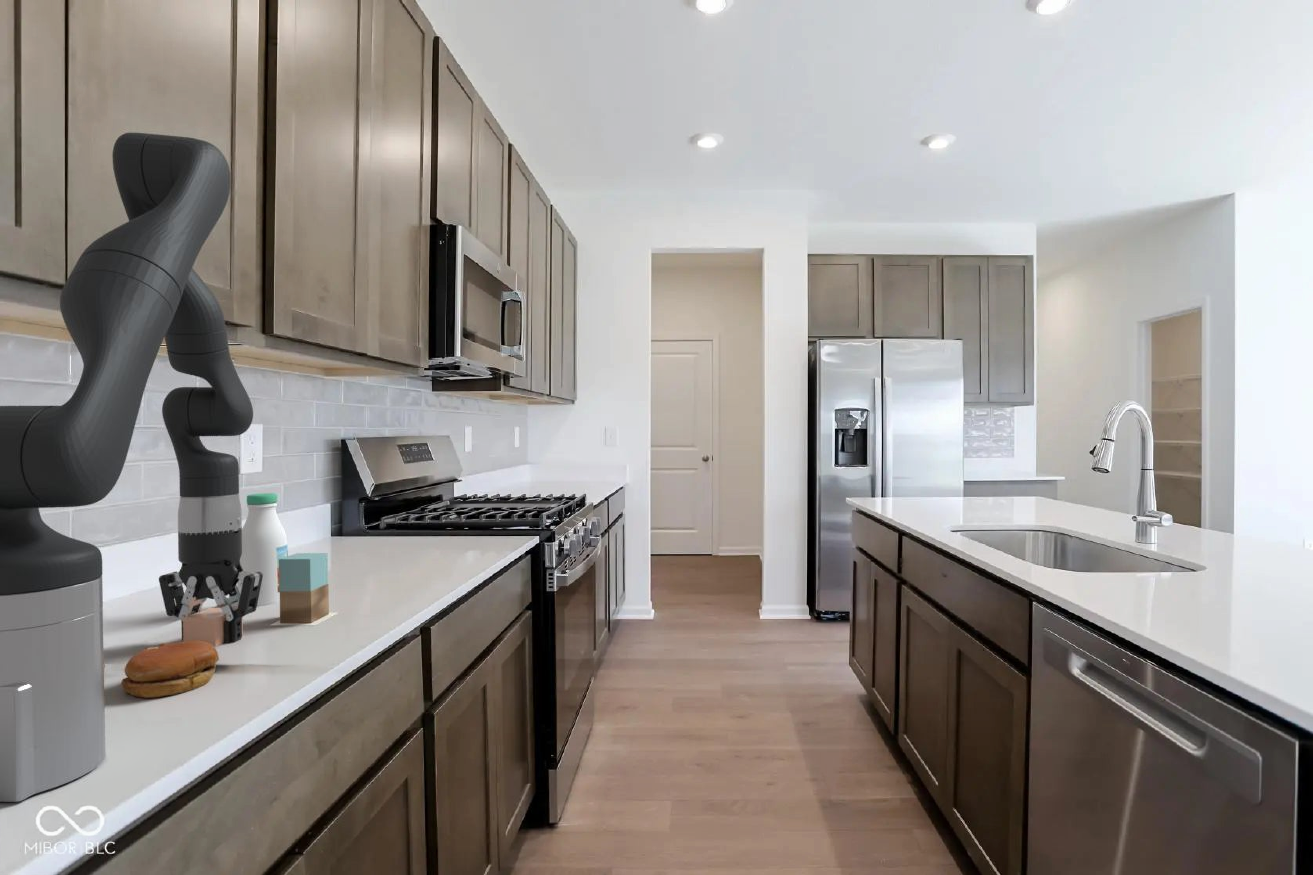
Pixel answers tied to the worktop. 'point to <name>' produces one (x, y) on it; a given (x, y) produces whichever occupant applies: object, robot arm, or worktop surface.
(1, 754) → the robot arm
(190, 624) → the terracotta block
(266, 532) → the milk bottle
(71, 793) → the worktop surface
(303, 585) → the teal block
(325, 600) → the walnut block
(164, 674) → the burger
